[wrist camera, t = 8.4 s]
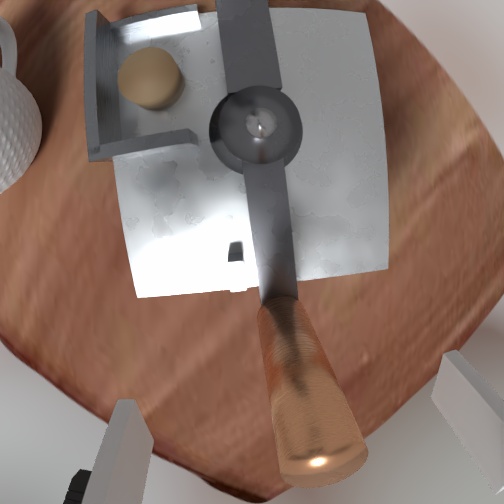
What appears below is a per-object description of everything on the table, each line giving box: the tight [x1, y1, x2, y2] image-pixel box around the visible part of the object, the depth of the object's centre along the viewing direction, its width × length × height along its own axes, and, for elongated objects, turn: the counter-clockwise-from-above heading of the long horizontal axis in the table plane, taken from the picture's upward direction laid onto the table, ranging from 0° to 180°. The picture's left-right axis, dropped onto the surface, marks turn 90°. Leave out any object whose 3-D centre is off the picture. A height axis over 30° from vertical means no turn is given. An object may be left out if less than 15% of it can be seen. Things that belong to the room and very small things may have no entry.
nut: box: [117, 47, 185, 111], centre depth 17 cm, size 4×4×3 cm
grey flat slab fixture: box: [84, 4, 389, 298], centre depth 19 cm, size 20×19×6 cm
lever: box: [215, 0, 368, 488], centre depth 13 cm, size 22×4×14 cm, turn 8°
